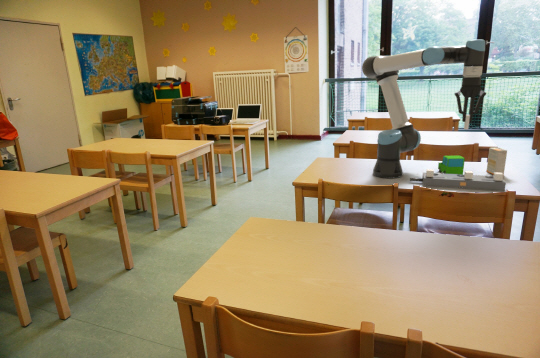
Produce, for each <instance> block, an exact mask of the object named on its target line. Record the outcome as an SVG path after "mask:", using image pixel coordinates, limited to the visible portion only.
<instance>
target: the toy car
mask: <svg viewBox="0 0 540 358" xmlns="http://www.w3.org/2000/svg"><path fill="white" fill-rule="evenodd" d="M465 160H466V159H465V157H463V156H461V155H443V157H442V160H441V162H438V164H437V168H438V169H437V170H438V172H439V173H443V174H463V175H464V171H465V170H464V168H465Z"/></svg>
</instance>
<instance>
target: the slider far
mask: <svg viewBox="0 0 540 358" xmlns="http://www.w3.org/2000/svg"><path fill="white" fill-rule="evenodd" d="M492 176H493V179H494V180H497V181H502V179H503V177H504V175H503V174H502V173H500V172H494V175H492ZM503 180H504V179H503Z"/></svg>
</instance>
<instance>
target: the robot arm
mask: <svg viewBox="0 0 540 358" xmlns="http://www.w3.org/2000/svg"><path fill="white" fill-rule="evenodd" d="M485 51H486V40H484V39H471V40H467V41H466V42H465V45H453V46H449V45H448V46H438V45H433V46H428V47H427V48H422V49H417V50H412V51H407V52H402V53H398V54H392V55H373V56H372V55H371V56H369V57H367V58H366V59H364V61H363V62H362V65H361V70H362V74H363V75H364V76H365V77H366V78H368V79H375V81H376V84H377V85H378V86H380V88H381V92H382V94H383V99H384V101H385V106H386V108H387V112H388V115H389V119H390V123H391V126H392V128H391V129H386V130H382V131H380V132H379V133H378V135H377V152H376V162H375V163H374V167H373V169H372V174H373V176H375V177H377V178H383V179H397V178H401V177H402V176H403V172H404V171H403V167H402V164H401V154H402V153H407V152H411V151H414V150H415V149H417V148H418V147H419V146H420V143H421V142H422V141H421V140H422V138H421V137H422V136H421V133H420V132H419V131H418V130H417V129H415V127H414V125H413V123H411V122H410V121H409V118H408V115H407V112H406V108H405V104H404V101H403V98H402V94H401V91H400V88H399V85H398V81H397V80H398V78H399V72H400V71H402V70H409V69H414V68H420V67H427V66H434V65H450V64H451V65H453V64H463V68H462V69H463V70H462V79H461V80H462V81H461V87H460V89H459V90H458V91H456V92H454V96H455V97H456V103H457V109H458V114H460V115H462V120H461V121H462V122H463V124H464V125H463V129H464V130H469V127H470V123H471V122H473V116H474V115H476V114H478V113H479V110H480V107H481V105H482V102H483V99H484V97H486V95H487V92H485V91H484V90H482V87H481V85H482V77H481V76H482V75H483V65H484V59H485ZM461 94H462V96H463V107H462V101H461V97H460V96H461ZM478 95H479V97H478V99H477V102H476V105H475V100H476V97H477V96H478ZM469 98H470V100H469ZM469 101H470V103H469ZM468 103H469V112H468V113H469V114H467V111H468ZM474 105H475V106H474Z"/></svg>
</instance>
